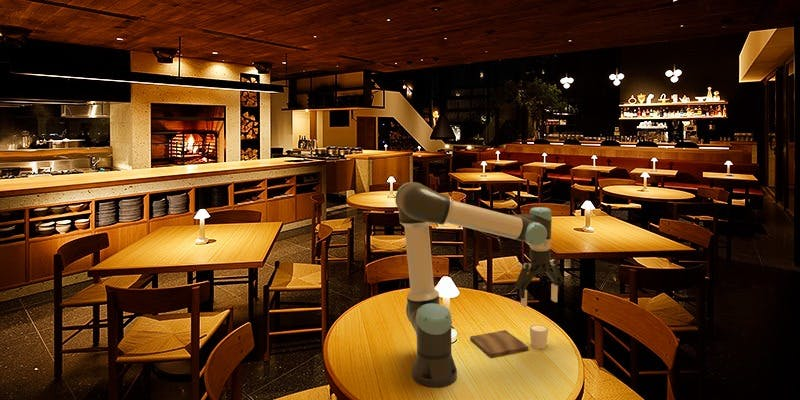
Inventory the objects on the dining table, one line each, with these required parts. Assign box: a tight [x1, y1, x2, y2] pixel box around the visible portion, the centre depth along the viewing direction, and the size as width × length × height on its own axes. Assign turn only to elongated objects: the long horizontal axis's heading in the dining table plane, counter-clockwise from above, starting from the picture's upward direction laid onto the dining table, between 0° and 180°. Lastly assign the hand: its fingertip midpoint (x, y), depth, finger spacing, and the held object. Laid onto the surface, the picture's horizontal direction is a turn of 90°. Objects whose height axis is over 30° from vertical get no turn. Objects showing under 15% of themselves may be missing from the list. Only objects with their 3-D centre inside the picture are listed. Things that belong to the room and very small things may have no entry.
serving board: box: [469, 329, 529, 359], centre depth 180 cm, size 16×16×2 cm
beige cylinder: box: [529, 324, 549, 350], centre depth 178 cm, size 7×7×7 cm
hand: (539, 303), depth 177 cm, fingers open, 13 cm apart
